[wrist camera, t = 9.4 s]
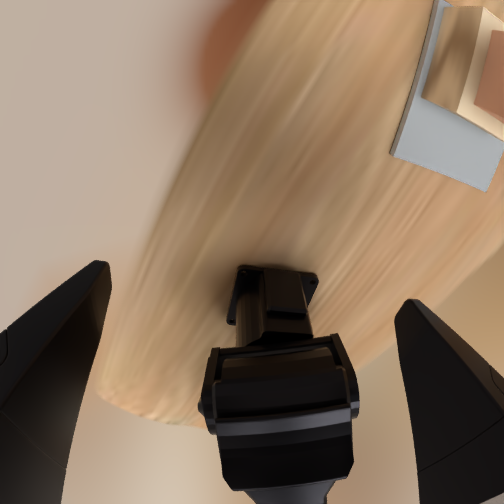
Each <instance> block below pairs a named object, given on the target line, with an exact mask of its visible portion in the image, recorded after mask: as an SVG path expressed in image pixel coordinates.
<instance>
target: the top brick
mask: <svg viewBox="0 0 504 504" xmlns="http://www.w3.org/2000/svg"><path fill="white" fill-rule="evenodd" d="M474 105H476V106H477V107H479V108H480V109H482V110H484V111H485V112H487V113H488V114H490V115H491V116H493V117H494V118H496V119H497V120H499V121H500V122H502V123H503V124H504V31H498V30H492V34H491V39H490V44H489V48H488V53H487V57H486V61H485V65H484V69H483V73H482V77H481V81H480V84H479V88H478V91H477V94H476V98H475V101H474Z"/></svg>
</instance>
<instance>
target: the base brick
mask: <svg viewBox="0 0 504 504" xmlns="http://www.w3.org/2000/svg"><path fill="white" fill-rule="evenodd" d="M492 30H498V31H504V23H503V22H502V21H501V20H500V19H498V18H497V17H496V16H495V15H493V14H492V13H491V12H490V11H488V10H487V9H486V8H485V7H475V6H464V7H444V12H443V16H442V21H441V25H440V29H439V33H438V38H437V42H436V45H435V49H434V53H433V57H432V61H431V64H430V68H429V71H428V75H427V78H426V82H425V85H424V88H423V91H422V95H421V98H423V99H425V100H427V101H429V102H432V103H434V104H436V105H438V106H440V107H442V108H444V109H446V110H448V111H449V112H451V113H453V114H455V115H457V116H459V117H461V118H463V119H464V120H466V121H468V122H470V123H471V124H473V125H475V126H477V127H478V128H480V129H482V130H483V131H485V132H487V133H488V134H490V135H492V136H494V137H495V138H497V139H499V140H501V141H502V142H504V124H503V123H502V122H500V121H499V120H497V119H496V118H494V117H493V116H491V115H490V114H488V113H487V112H485V111H484V110H482V109H480V108H479V107H477V106H476V105H474V101H475V98H476V94H477V91H478V88H479V84H480V81H481V77H482V73H483V69H484V65H485V61H486V57H487V53H488V48H489V44H490V39H491V34H492Z"/></svg>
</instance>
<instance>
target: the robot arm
mask: <svg viewBox="0 0 504 504" xmlns="http://www.w3.org/2000/svg"><path fill="white" fill-rule="evenodd" d="M242 271H245V273H242ZM311 280H314V281H311ZM318 283H319V280H318V277H317V276H316V275H314V274H308V273H300V272H292V271H284V270H276V269H269V268H261V267H253V266H246V265H242V266H240V267H238V269H237V272H236V277H235V281H234V286H233V290H232V295H231V299H230V304H229V308H228V313H227V318H226V321H227V323H228V324H229V325H235V326H236V347H233V348H221V349H220V347H217V348H212V350H211V355H210V357H209V358H208V363H207V367H206V372H205V377H204V382H203V387H202V392H201V398H200V400H199V402H198V411H199V412H200V413H201V414H202V415H203V416H204V418H205V421H206V425H207V428H208V431H209V432H210V434H212V435H217V441H218V447H219V453H220V458H221V464H222V475H223V478H224V480H225V481H226V482H227V484H228V485H229V487H230V488H231V489H232V490H233V491H244V492H246V494H247V495H248V496H249V497H250V498H251V499H252V500H253V501H254V502H255V503H256V504H327V497H326V496H327V494H328V492H329V491H330V489H331V487H332V486H333V484H334V483H335V481H336V480H341V479H346V478H347V477H348V474H349V472H350V470H351V468H352V466H353V463H354V457H353V442H352V419H354V418H357V416H358V414H359V401H360V400H359V389H358V383H357V378H356V374H355V371H354V369H353V366H352V364H351V362H350V359H349V357H348V355H347V353H346V350H345V348H344V346H343V344H342V341H341V339H340V337H339V335H338V333H335V334H330V336H324V337H317V338H314V335H313V331H312V326H311V322H310V317H309V313H308V305H309V303H310V301H311V299H312V297H313V294H314V292H315V290H316V288H317V285H318ZM111 290H112V282H111V273H110V266H109V263H108V262H106V261H99V260H94V261H93V262H91V263H90V264H88V265H87V266H86V267H84V268H83V269H82V270H80V271H79V272H77V273H76V274H75V275H73V276H72V277H71V278H69V279H68V280H67V281H65V282H64V283H63V284H61V285H60V286H59V287H57V288H56V289H55V290H53V291H52V292H51V293H49V294H48V295H47V296H46V297H44V298H43V299H42V300H40V301H39V302H38V303H37V304H35V305H34V306H33V307H32V308H30V309H29V310H28V311H27V312H26V313H24V314H23V315H22V316H21V317H20V318H18V319H17V320H16V321H14V322H13V323H12V324H11V325H10V326H8V327H7V330H6V329H5V330H4V331H2V332H1V333H0V504H61V499H62V492H63V486H64V480H65V475H66V468H67V463H68V458H69V453H70V448H71V444H72V439H73V435H74V431H75V426H76V422H77V418H78V414H79V410H80V406H81V403H82V399H83V395H84V392H85V388H86V385H87V381H88V378H89V374H90V371H91V368H92V365H93V361H94V358H95V355H96V352H97V349H98V345H99V342H100V339H101V335H102V330H103V325H104V321H105V316H106V312H107V307H108V303H109V299H110V295H111ZM232 319H233V320H232ZM394 324H395V331H396V338H397V345H398V353H399V361H400V366H401V371H402V376H403V381H404V386H405V391H406V397H407V402H408V408H409V413H410V420H411V426H412V433H413V440H414V448H415V455H416V464H417V472H418V473H417V475H418V487H419V500H420V504H504V378H503V377H502V376H501V375H500V374H499V373H498V372H497V371H496V370H495V369H494V368H493V367H492V366H491V365H489V364H488V362H487V361H485V360H484V358H482V357H481V356H480V355H479V354H478V353H477V352H476V351H475V350H474V349H473V348H472V347H471V346H470V345H469V344H468V343H467V342H466V341H464V340H463V339H462V338H461V337H460V336H459V335H458V334H457V333H456V332H455V331H454V330H452V329H451V328H450V327H449V326H448V325H447V324H446V323H445V322H443V321H442V320H441V319H440V318H439V317H438V316H437V315H436V314H434V313H433V312H432V311H431V310H430V309H429V308H428V307H427V306H425V305H424V304H423V303H422V302H421V301H420V300H418V299H407V300H406V301H405V302H404V304H403V305H402V307H401V308H400V310H399V311H398V313H397V314H396V316H395V319H394Z"/></svg>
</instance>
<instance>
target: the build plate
mask: <svg viewBox="0 0 504 504" xmlns="http://www.w3.org/2000/svg"><path fill="white" fill-rule="evenodd" d="M444 7H454V6H452V5H451V4H449V3H448V2H446V1H444V0H434V4H433V9H432V13H431V18H430V22H429V26H428V30H427V34H426V38H425V42H424V46H423V50H422V54H421V57H420V61H419V65H418V68H417V72H416V75H415V78H414V82H413V85H412V88H411V92H410V95H409V98H408V101H407V105H406V108H405V111H404V114H403V117H402V120H401V123H400V126H399V129H398V132H397V134H396V137H395V140H394V143H393V146H392V149H391V151H390V154H391V155H392V156H393V157H396V158H399V159H402V160H405V161H408V162H411V163H414V164H417V165H419V166H422V167H425V168H428V169H430V170H433V171H436V172H438V173H441V174H443V175H446V176H449V177H451V178H453V179H456V180H458V181H461V182H463V183H466V184H468V185H470V186H473V187H475V188H477V189H480V190H482V191H484V192H486V191H487V189H488V187H489V184H490V182H491V180H492V177H493V175H494V173H495V170H496V168H497V166H498V163H499V161H500V158H501V156H502V153H503V151H504V142H502V141H501V140H499V139H497V138H495V137H494V136H492V135H490V134H488V133H487V132H485V131H483V130H482V129H480V128H478V127H477V126H475V125H473V124H471V123H470V122H468V121H466V120H464V119H463V118H461V117H459V116H457V115H455V114H453V113H451V112H449V111H448V110H446V109H444V108H442V107H440V106H438V105H436V104H434V103H432V102H429V101H427V100H425V99H423V98H421V95H422V91H423V88H424V85H425V82H426V78H427V75H428V71H429V68H430V64H431V61H432V57H433V53H434V49H435V45H436V42H437V38H438V33H439V29H440V25H441V21H442V16H443V12H444Z"/></svg>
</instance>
